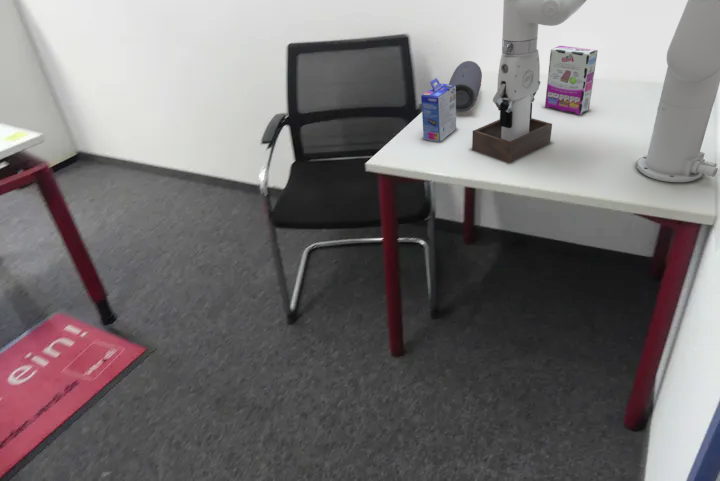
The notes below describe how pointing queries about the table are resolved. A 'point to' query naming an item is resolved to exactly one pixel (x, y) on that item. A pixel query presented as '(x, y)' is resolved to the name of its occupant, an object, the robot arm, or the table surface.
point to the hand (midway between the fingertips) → (515, 121)
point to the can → (518, 119)
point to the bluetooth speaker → (466, 85)
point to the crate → (508, 151)
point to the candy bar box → (570, 79)
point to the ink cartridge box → (439, 111)
